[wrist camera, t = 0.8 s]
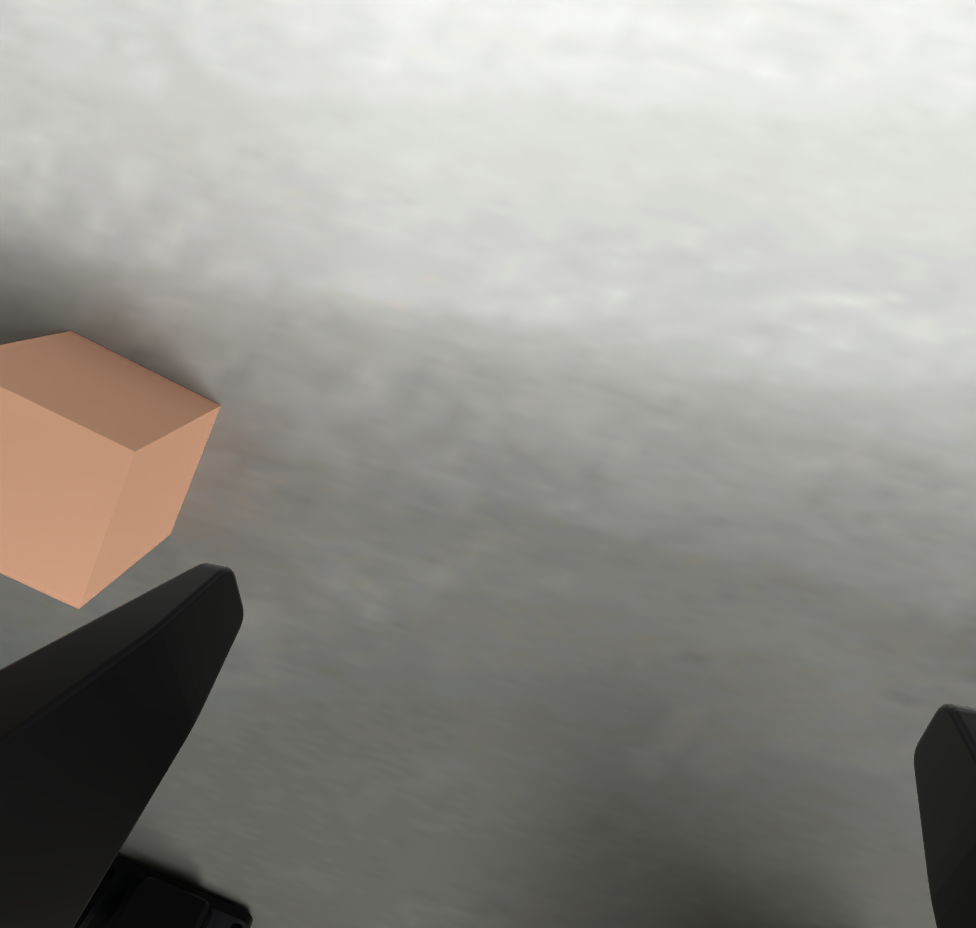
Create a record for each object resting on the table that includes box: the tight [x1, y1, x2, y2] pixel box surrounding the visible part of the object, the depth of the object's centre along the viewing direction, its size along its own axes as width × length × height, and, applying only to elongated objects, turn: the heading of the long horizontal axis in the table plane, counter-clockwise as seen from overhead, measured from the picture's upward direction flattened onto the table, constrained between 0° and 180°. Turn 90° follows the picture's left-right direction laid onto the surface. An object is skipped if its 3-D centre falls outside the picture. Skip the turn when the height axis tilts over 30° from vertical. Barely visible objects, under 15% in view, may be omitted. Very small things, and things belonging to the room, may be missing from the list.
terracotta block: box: [0, 331, 221, 609], centre depth 20 cm, size 5×5×5 cm
